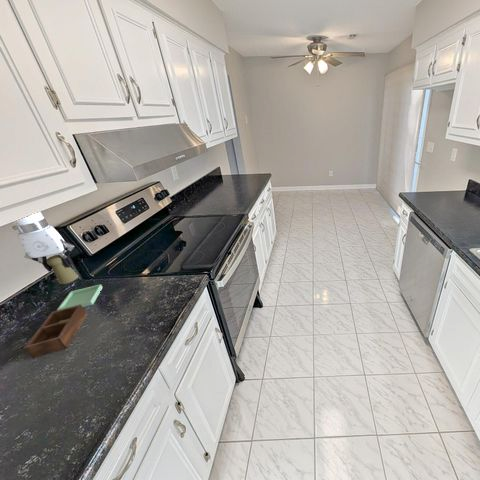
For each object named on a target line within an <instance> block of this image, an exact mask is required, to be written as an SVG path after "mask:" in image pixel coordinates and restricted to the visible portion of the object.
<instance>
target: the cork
mask: <svg viewBox="0 0 480 480" xmlns="http://www.w3.org/2000/svg"><path fill="white" fill-rule="evenodd" d="M62 259H63V258H62V257H61V256H60V255H59V254H54V255H50V257H49V256H48V257H47V264H48V265H49V266H52V268H53V270H52V271H53V273H54V275H55V277H56V279H57V282H58V284H59V285H66V284H70V283H73V282H75V281H76V280H77V279H78V278H79V275H78V274H77V272H75V270H74V269H73V268H72V266H70V267H66V265H65V264H64V262H63V260H62Z"/></svg>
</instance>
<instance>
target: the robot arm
mask: <svg viewBox="0 0 480 480" xmlns="http://www.w3.org/2000/svg"><path fill="white" fill-rule="evenodd" d="M12 224H13V226H12V228H11V229H12V230H14V231H18V233H17V236H18V240H19V242H20V244H21V246H22V247H23V249H24V252H25V254H24V258H25V259H29V260H32V261H35V262H38V264H41V265H42V267H44V269H45V270H46V271H47V272H52V271H54V270H53V268H52V266H49V265H48V264H47V259H48V257H49V256H54V255H60V256H61V257H62V258H63V259H62V260H63V262H64V264H65V265H66V267H72V265H73V264H74V262H73V260H72V258H71V257H70V255H71V253H72V251H73V250H74V248H75V245H74V244H71V243H69V242H66V241H65V239H64V238H63V237H62V235H61V234H60V233H59V231H58V230H56V228H55V227H53V225H51V224H50V225H49V223H48V222H47V220H46V218H45V217H44V215H43V213H42V212H41V211H40V212H38V213H35V214H32V215H30V216H28V217H25V218H23V219H20V220H17V221H14V222H12ZM66 249H67V250H66Z"/></svg>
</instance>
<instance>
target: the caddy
mask: <svg viewBox="0 0 480 480" xmlns="http://www.w3.org/2000/svg"><path fill="white" fill-rule="evenodd" d="M84 308H85V307H82V305H77V306H73V307H69V308H65V309H62V310H55V311H54V310H53V311H51V312H50V313H49V315H48V316H47V317H46V319H45V320H44V322H43V323H42V324H40V326H39V328H38V329H37V331H36V332H35V333H34V335H32V337H31V338H30V340H29V341H28V342H27V343H26V345H25V346H24V350H25V351H26V352H27V353H28V354H29V355H30V356H31V357H32V358H33V359H35V358H39V357H42V356H46V355H48V354H51V353H52V354H53V353H56V352H59V351H62V350H65V349H66V350H67V349H68V348H69V346H70V345H71V343H72V341H73V339H74V338H75V336H76V334H77V333H78V331H79V329H80V328H81V326H82V324H83V322H84V320H85V319H86V317H87V316H88V312H87V311H86V309H84Z"/></svg>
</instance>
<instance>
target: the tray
mask: <svg viewBox="0 0 480 480" xmlns="http://www.w3.org/2000/svg"><path fill="white" fill-rule="evenodd" d="M102 290H103V285H102V284H101V283H100V284H96V285H91V286H88V287H84V288H80V289H75V290H71V291H69V293H68V295H67V296H66V297H65V298H64V299H63V301H62V302H61V303H60V304H59V306H58V307H57V309H56V311H58V310H62V309H65V308H69V307H73V306H77V305H82V307H83V308H85V307H88V306H92V305H93V306H94V303H96V300H97V298H98V297H99V295H100V293H101V292H102ZM100 291H101V292H100Z"/></svg>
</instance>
